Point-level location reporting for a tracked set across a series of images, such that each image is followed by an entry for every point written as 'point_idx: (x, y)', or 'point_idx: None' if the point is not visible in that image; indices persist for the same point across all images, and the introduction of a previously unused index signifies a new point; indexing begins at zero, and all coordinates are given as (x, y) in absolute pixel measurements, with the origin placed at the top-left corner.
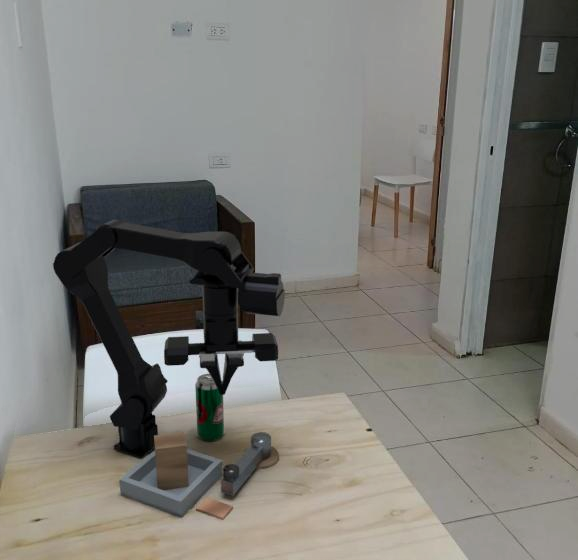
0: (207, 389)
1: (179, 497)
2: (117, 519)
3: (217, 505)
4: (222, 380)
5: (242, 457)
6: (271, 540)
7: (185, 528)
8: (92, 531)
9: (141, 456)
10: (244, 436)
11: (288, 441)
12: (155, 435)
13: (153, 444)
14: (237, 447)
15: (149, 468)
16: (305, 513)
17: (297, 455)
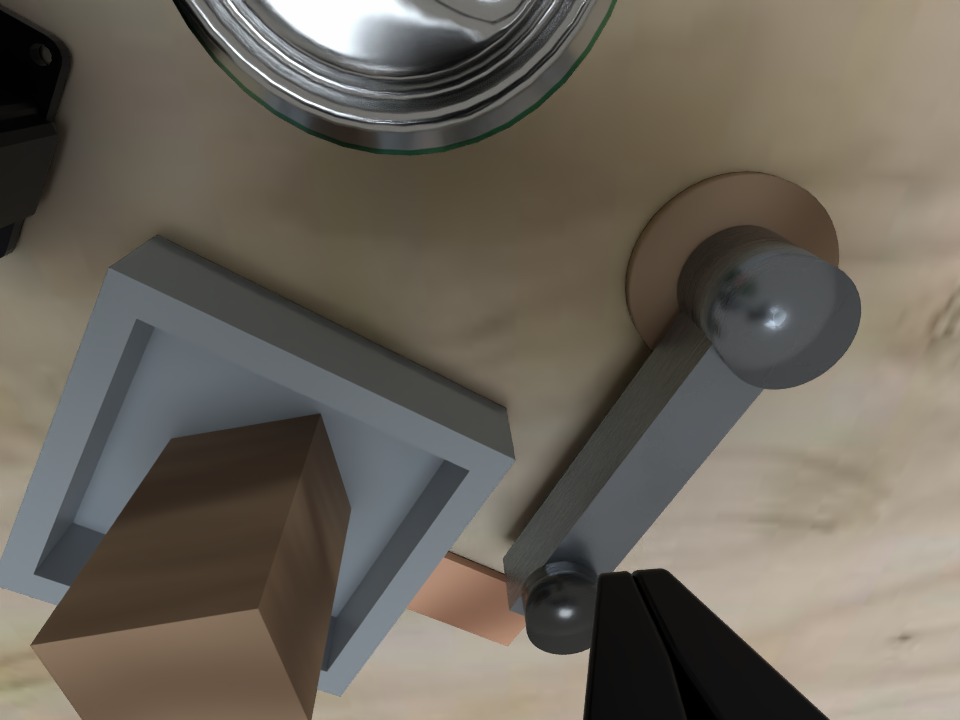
0: (385, 146)
1: (330, 678)
2: None
3: (486, 596)
4: (705, 715)
5: (633, 466)
6: None
7: (374, 666)
8: (35, 677)
9: (4, 254)
10: (666, 23)
11: (938, 112)
12: (41, 646)
13: (30, 186)
14: (603, 162)
15: (109, 419)
16: (808, 612)
17: (929, 264)
